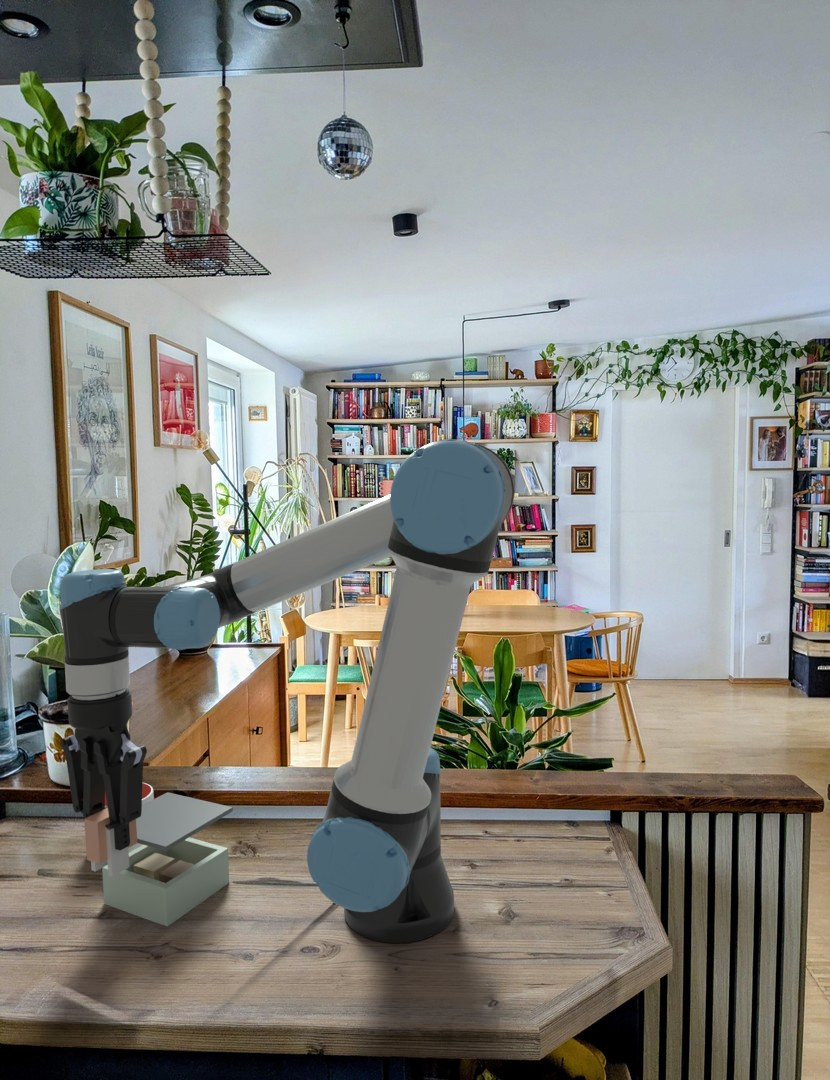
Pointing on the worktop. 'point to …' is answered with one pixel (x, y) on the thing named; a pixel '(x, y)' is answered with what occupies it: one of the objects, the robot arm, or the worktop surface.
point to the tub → (175, 895)
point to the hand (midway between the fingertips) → (110, 868)
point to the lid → (156, 824)
